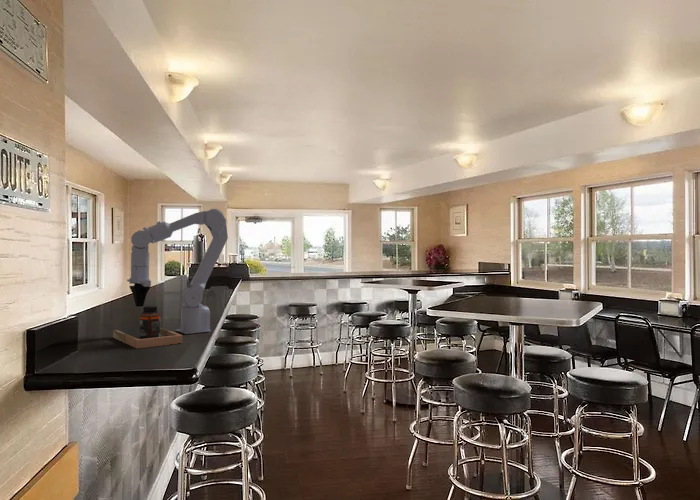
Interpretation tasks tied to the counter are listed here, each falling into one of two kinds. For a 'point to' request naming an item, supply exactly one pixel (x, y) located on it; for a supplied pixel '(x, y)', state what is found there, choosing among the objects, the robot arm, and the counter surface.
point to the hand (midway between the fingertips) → (139, 306)
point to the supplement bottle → (149, 322)
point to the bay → (149, 339)
